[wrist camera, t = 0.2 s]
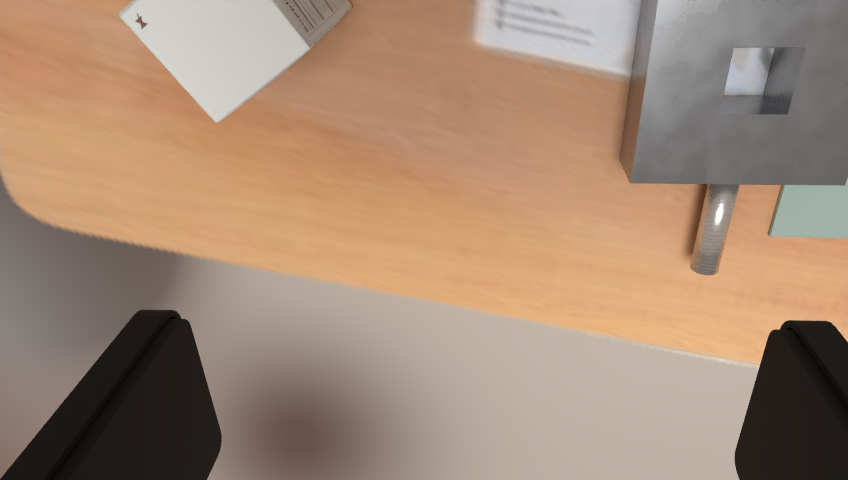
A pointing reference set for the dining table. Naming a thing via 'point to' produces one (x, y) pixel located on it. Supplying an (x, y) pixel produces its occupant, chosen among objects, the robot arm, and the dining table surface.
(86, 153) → the dining table surface
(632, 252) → the dining table surface
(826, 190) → the mat
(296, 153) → the dining table surface
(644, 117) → the block
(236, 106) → the supplement box
